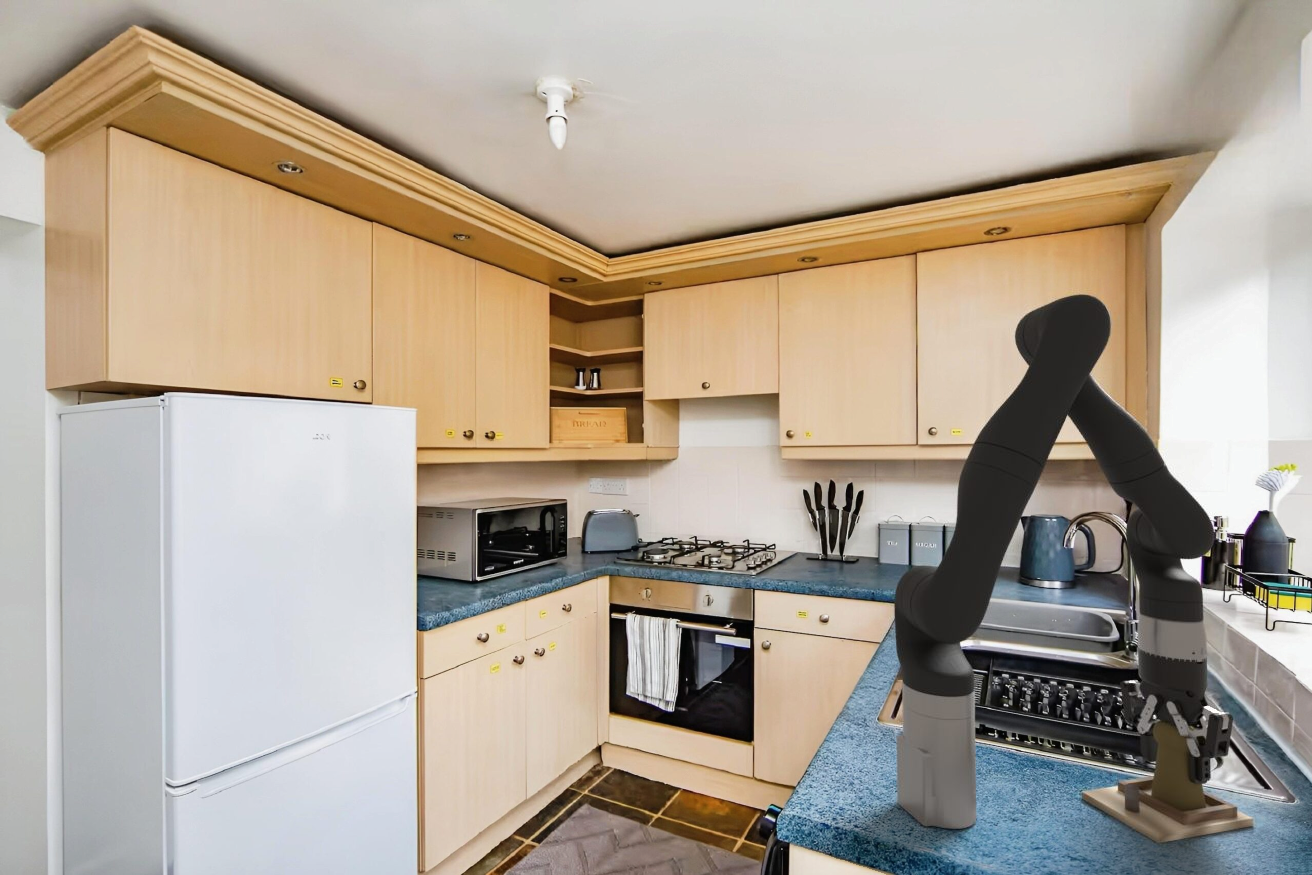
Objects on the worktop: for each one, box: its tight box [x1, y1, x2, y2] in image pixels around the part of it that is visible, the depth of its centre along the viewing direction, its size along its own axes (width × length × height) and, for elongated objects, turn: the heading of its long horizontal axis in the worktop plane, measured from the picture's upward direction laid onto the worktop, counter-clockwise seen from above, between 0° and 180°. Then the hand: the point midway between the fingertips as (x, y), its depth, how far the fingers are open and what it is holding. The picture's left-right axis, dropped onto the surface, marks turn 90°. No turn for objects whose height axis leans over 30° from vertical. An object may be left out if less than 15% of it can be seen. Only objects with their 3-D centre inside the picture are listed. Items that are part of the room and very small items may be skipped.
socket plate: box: [1081, 775, 1254, 844], centre depth 89 cm, size 16×11×4 cm
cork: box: [1151, 720, 1206, 812], centre depth 89 cm, size 6×6×11 cm
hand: (1174, 770), depth 89 cm, fingers open, 6 cm apart
